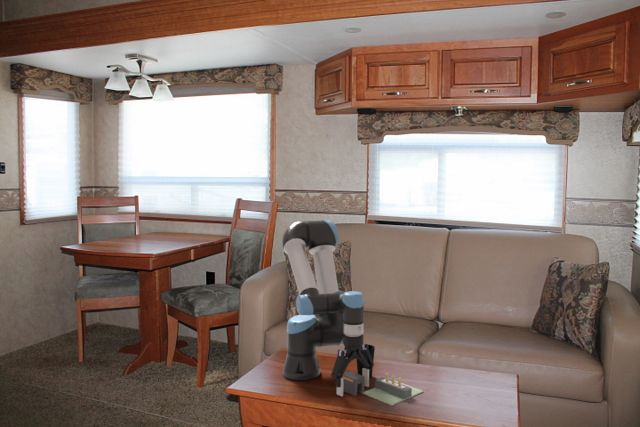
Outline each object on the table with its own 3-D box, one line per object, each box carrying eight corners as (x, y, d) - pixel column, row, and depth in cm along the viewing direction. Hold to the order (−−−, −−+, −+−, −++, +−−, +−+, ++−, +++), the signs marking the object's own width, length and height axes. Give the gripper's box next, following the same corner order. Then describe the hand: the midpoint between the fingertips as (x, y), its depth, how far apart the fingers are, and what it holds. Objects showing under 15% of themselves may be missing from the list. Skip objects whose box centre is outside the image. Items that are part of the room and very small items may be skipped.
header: (362, 393, 199) (362, 376, 199) (394, 381, 211) (394, 365, 211) (391, 405, 189) (391, 387, 188) (423, 392, 201) (423, 375, 200)
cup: (373, 380, 212) (373, 350, 211) (353, 379, 213) (354, 349, 212) (375, 373, 219) (375, 344, 218) (356, 372, 221) (356, 343, 220)
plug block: (341, 390, 202) (341, 374, 202) (350, 386, 206) (350, 371, 205) (354, 395, 197) (354, 379, 197) (364, 392, 201) (364, 376, 200)
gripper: (335, 343, 189) (335, 402, 190) (383, 329, 205) (383, 384, 207) (321, 338, 194) (321, 396, 196) (368, 325, 211) (368, 379, 212)
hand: (353, 390), depth 201 cm, fingers open, 13 cm apart
